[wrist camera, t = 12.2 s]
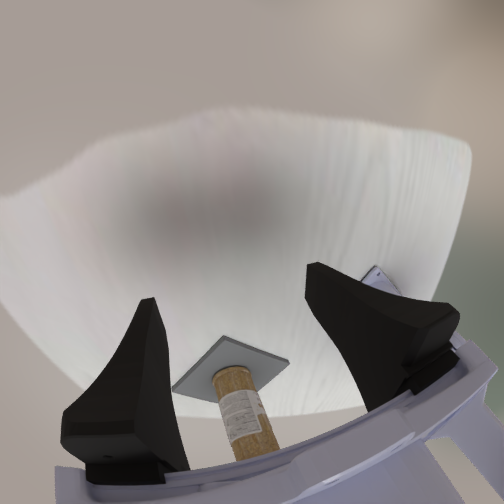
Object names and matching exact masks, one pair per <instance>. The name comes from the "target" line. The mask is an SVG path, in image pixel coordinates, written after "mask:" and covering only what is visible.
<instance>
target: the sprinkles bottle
mask: <svg viewBox="0 0 504 504" xmlns="http://www.w3.org/2000/svg"><path fill="white" fill-rule="evenodd" d="M212 384H213V386H214V387H215V390H216V394H217V397H218V401H219V407H220V411H221V415H222V418H223V421H224V425H225V428H226V432H227V435H228V438H229V442H230V445H231V447H232V448H233V452H234V455H235V458H236V461H241V460H245V459H249V458H253V457H257V456H260V455H264V454H267V453H270V452H274V451H277V450H280V448H279V445H278V443H277V440H276V438H275V436H274V433H273V431H272V427H271V424H270V422H269V419H268V417H267V414H266V412H265V409H264V407H263V404H262V402H261V399H260V397H259V394H258V393H257V391H256V388H255V386H254V383H253V380H252V375H251V373H250V371H249V370H248V369H247V368H244V367H240V366H235V367H229V368H226V369H223V370H221V371H219V372H218V373H216V375H215V376H214V377H213V380H212Z"/></svg>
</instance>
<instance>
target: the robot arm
mask: <svg viewBox="0 0 504 504" xmlns="http://www.w3.org/2000/svg"><path fill="white" fill-rule="evenodd" d="M305 299H306V301H307V303H308V305H309V307H310V309H311V311H312V313H313V315H314V316H315V317H316V319H317V320H318V322H319V323H320V324H321V326H322V327H323V329H324V330H325V331H326V333H327V334H328V336H329V337H330V338H331V340H332V341H333V342H334V344H335V345H336V347H337V348H338V350H339V351H340V353H341V355H342V357H343V359H344V360H345V362H346V364H347V366H348V368H349V370H350V372H351V374H352V376H353V378H354V380H355V382H356V384H357V387H358V389H359V391H360V393H361V396H362V398H363V401H364V403H365V406H366V409H367V411H368V413H367V414H365V415H363V416H361V417H359V418H357V419H355V420H353V421H350V422H348V423H346V424H344V425H342V426H340V427H338V428H335V429H333V430H331V431H328V432H326V433H323V434H321V435H319V436H316V437H314V438H311V439H308V440H306V441H303V442H301V443H298V444H295V445H292V446H289V447H286V448H283V449H280V450H277V451H274V452H270V453H267V454H264V455H260V456H257V457H253V458H249V459H245V460H241V461H237V462H233V463H228V464H224V465H219V466H214V467H208V468H202V469H197V470H190V467H189V464H188V460H187V457H186V454H185V451H184V447H183V444H182V440H181V436H180V433H179V429H178V424H177V420H176V416H175V411H174V406H173V401H172V395H171V384H170V367H169V348H168V342H167V336H166V330H165V327H164V324H163V321H162V318H161V316H160V313H159V310H158V307H157V304H156V301H155V298H154V297H152V298H147V299H142V300H141V301H140V303H139V305H138V307H137V310H136V312H135V314H134V317H133V319H132V321H131V323H130V325H129V327H128V329H127V331H126V333H125V335H124V337H123V339H122V341H121V343H120V345H119V346H118V348H117V350H116V352H115V353H114V355H113V357H112V358H111V360H110V361H109V363H108V364H107V366H106V367H105V368H104V370H103V371H102V372H101V373H100V375H99V376H98V377H97V379H96V380H95V381H94V382H93V383H92V384H91V386H90V387H89V388H88V389H87V390H86V391H85V392H84V393H83V394H82V395H81V396H80V397H79V398H78V399H77V400H76V401H75V402H74V403H72V404H71V405H70V406H69V407H68V408H67V409H66V410H64V412H63V416H62V424H61V440H60V443H61V445H62V446H63V448H64V449H65V450H67V451H68V452H69V453H70V454H72V455H73V456H75V457H77V458H78V459H79V460H81V461H82V462H84V463H85V469H86V470H83V469H80V468H72V467H63V466H55V497H56V504H465V502H464V501H463V500H462V498H461V496H460V495H459V493H458V492H457V490H456V489H455V488H454V486H453V485H452V483H451V481H450V480H449V478H448V477H447V476H446V474H445V473H444V471H443V470H442V468H441V467H440V465H439V464H438V462H437V461H436V460H435V458H434V457H433V455H432V454H431V452H430V451H429V449H428V448H427V447H426V445H425V444H424V442H426V441H427V440H429V439H436V438H443V437H450V438H451V439H452V440H453V442H454V443H455V444H456V445H457V446H458V447H459V448H460V450H461V451H462V452H463V453H464V454H465V455H466V457H467V458H468V459H469V460H470V461H471V462H472V463H473V464H474V466H475V467H476V468H477V469H478V470H479V472H480V473H481V474H482V475H483V476H484V477H485V479H486V480H487V481H488V482H489V484H490V485H491V486H492V487H493V488H494V489H495V491H496V492H497V493H498V494H499V496H500V497H501V498H502V499H503V500H504V425H503V424H502V423H501V421H500V420H499V419H498V418H497V417H496V415H495V414H494V413H493V412H492V411H491V410H490V408H489V407H488V406H487V405H486V404H485V403H484V398H485V394H486V390H487V385H488V382H489V381H490V380H491V378H492V377H493V376H494V375H495V373H496V372H497V371H498V367H497V366H496V365H495V364H494V363H493V362H492V361H491V360H490V359H489V358H488V357H487V356H486V354H484V352H483V351H482V350H481V349H480V348H479V347H478V346H477V345H476V344H474V342H473V341H472V340H471V339H470V340H468V341H466V340H464V338H463V337H462V336H461V335H460V334H459V333H458V332H457V331H456V330H455V329H456V327H457V325H458V323H459V319H460V313H459V312H458V311H457V310H456V309H455V308H454V307H453V306H451V305H450V304H449V303H442V302H429V301H422V300H416V299H411V298H407V297H403V296H402V295H401V294H400V293H399V291H398V290H397V289H396V288H395V287H394V285H393V284H392V283H391V282H390V280H389V279H388V278H387V277H386V276H385V275H384V273H383V272H382V271H381V270H380V269H379V268H378V267H374V268H373V269H372V270H371V272H370V273H369V274H368V275H367V276H366V277H365V278H364V280H363V281H362V282H360V281H358V280H355V279H353V278H351V277H349V276H347V275H345V274H343V273H341V272H339V271H337V270H335V269H333V268H331V267H329V266H327V265H324V264H322V263H320V262H315V263H311V264H307V273H306V288H305Z"/></svg>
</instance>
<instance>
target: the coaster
mask: <svg viewBox="0 0 504 504" xmlns="http://www.w3.org/2000/svg"><path fill="white" fill-rule="evenodd" d="M289 364H290V363H289V361H288V360H286V359H283V358H280V357H277V356H275V355H272V354H269V353H266V352H264V351H261V350H258V349H256V348H253V347H251V346H248V345H245V344H243V343H240V342H238V341H235V340H233V339H230V338H228V337H226V336H223V337H222V338H221V339H220V340H219V341H218V342H217V343H216V344H215V345H214V346H213V347H212V348H211V349H210V350H209V351H208V352H207V353H206V354H205V355H204V356H203V357H202V358H201V359H200V360H199V361H198V362H197V363H196V364H195V365H194V366H193V367H192V368H191V369H190V370H189V371H188V372H187V373H186V374H185V375H184V376H183V377H182V378H181V379H180V380H179V381H178V382H177V383H176V384H175V385H174V386H173V387H172V392H174V393H178V394H181V395H185V396H189V397H193V398H197V399H201V400H205V401H209V402H214V403H219V401H218V397H217V394H216V390H215V387H214V386H213V384H212V380H213V377H214V376H215V375H216V373H218V372H219V371H221V370H223V369H226V368H229V367H235V366H240V367H244V368H247V369H248V370H249V371H250V373H251V375H252V380H253V383H254V386H255V388H256V391H257V392H258V391H259V390H260V389H261V388H262V387H264V386H265V385H266V384H267V383H269V382H270V381H271V380H272V379H273V378H274V377H276V376H277V375H278V374H279V373H280V372H281V371H283V370H284V369H285V368H286V367H287V366H288V365H289Z"/></svg>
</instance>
